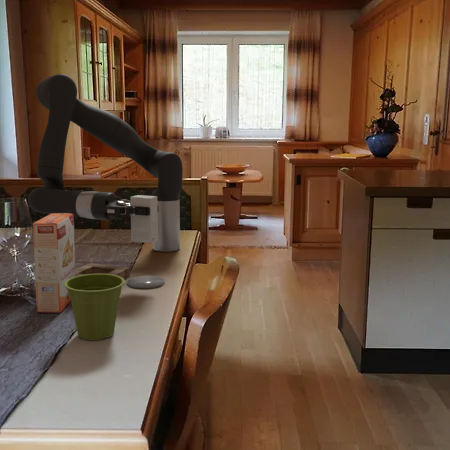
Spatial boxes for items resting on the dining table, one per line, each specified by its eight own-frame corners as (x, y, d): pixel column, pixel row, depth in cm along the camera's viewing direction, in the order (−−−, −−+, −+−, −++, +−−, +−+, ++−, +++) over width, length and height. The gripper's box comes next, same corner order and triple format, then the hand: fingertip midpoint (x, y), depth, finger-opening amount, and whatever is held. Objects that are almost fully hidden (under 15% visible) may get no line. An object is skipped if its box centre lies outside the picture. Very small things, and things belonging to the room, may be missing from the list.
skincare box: (158, 240, 141) (158, 196, 139) (151, 243, 137) (150, 198, 135) (138, 238, 143) (137, 194, 141) (130, 241, 139) (129, 196, 137)
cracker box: (62, 313, 119) (58, 223, 115) (35, 313, 119) (30, 222, 115) (78, 294, 133) (74, 212, 129) (54, 294, 133) (49, 212, 129)
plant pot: (70, 350, 100) (68, 293, 98) (63, 328, 111) (60, 276, 108) (132, 340, 105) (130, 286, 102) (119, 320, 115) (117, 270, 113)
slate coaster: (138, 276, 149) (138, 274, 148) (170, 280, 145) (170, 277, 145) (120, 286, 139) (120, 284, 139) (154, 290, 136) (154, 288, 136)
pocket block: (90, 271, 153) (90, 263, 153) (129, 275, 149) (129, 267, 148) (62, 283, 141) (62, 275, 141) (105, 289, 137) (104, 280, 136)
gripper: (81, 194, 136) (140, 199, 130) (111, 189, 149) (165, 192, 143) (82, 223, 137) (141, 229, 132) (111, 215, 150) (165, 219, 145)
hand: (153, 210), depth 138 cm, fingers closed on skincare box, 4 cm apart
